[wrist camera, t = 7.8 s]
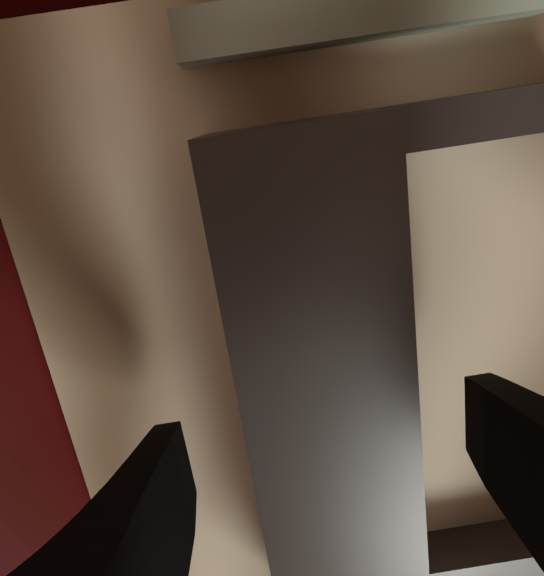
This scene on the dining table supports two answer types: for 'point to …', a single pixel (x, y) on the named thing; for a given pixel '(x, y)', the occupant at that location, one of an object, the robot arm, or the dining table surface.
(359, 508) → the grey boxy piece
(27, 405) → the dining table surface
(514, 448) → the robot arm
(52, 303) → the display stand
